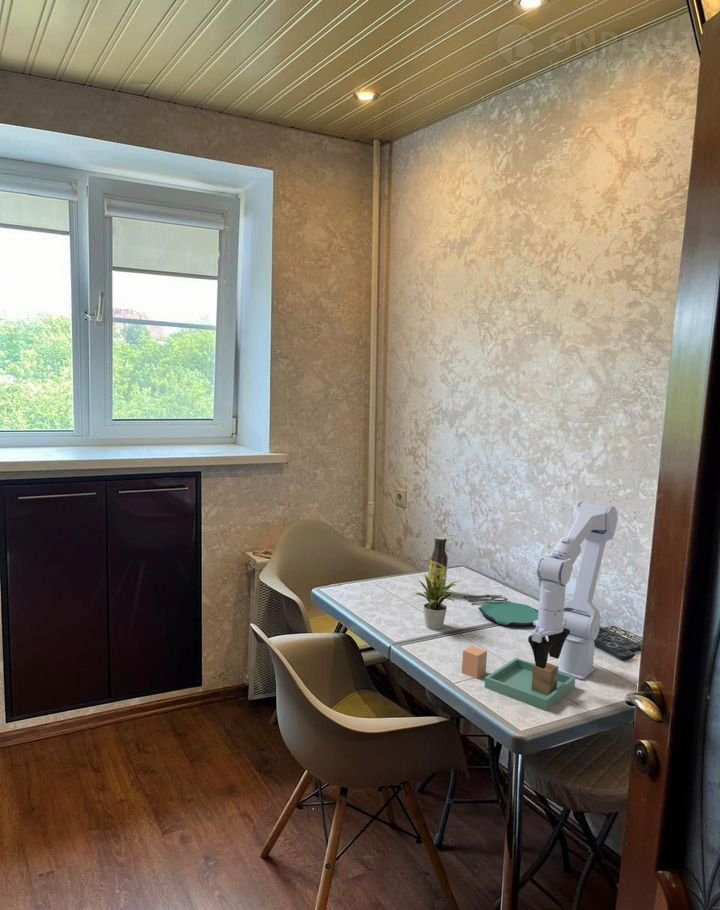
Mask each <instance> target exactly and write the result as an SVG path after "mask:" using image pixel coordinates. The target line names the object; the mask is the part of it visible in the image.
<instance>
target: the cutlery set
mask: <svg viewBox="0 0 720 910" xmlns="http://www.w3.org/2000/svg"><path fill="white" fill-rule="evenodd" d="M463 599H467V601H468V602H471V605H472V606H473V605H477V604H479V605H480V604H482V605H480V606H479V607H478V610H479V611H480V613H481V614H482V615H483V616H484V617H486V618H488V619H490V620H492V621H495V622H496V623H497V624H499V625H503V626H507V625H514V626H532V625H533V622H534V621H535V620H538V613H539V609H536V608H534V607H532V606H530V605H527V604H523V603H518V602H515V601H514V602H513V601H511V600H508V598H507V597H503V595H501V594H496V595H495V594H490V593H489V594H488V593H486V594H481V595H472V594H471V595H470V594H468V595H466V594H465V595H463ZM506 600H507V601H506ZM473 601H481V602H473ZM482 601H483V602H482Z"/></svg>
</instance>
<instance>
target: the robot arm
mask: <svg viewBox="0 0 720 910" xmlns="http://www.w3.org/2000/svg"><path fill="white" fill-rule="evenodd" d="M618 518H619V517H618V510H617V509H616V507H615V506H614V505H610V506H609V505H604V504H598V503H590V502H586V501H582V500H579V501H578V502H577V503H576V504H575V506H574V507H573V511H572V520H573V523H572V526H571V527H570V529H569V532H568V534H567V535H566V536H564V537H561V538H560V539H559V540H558V541H557V543H556V544H555V546H554V547H553V548H552V550H551V552H549V554H548V556H544V557H541V559H539V562H538V564H537V567H536V568H537V569H536V576H537V581H538V582H537V585H538V587H539V600H538V611H539V613H538V620H535V621H534V622H533V624H532V625H533V626H535V629H534V631H533V632H532V634H531V635H529V636H527V637H528V638H527V641H528V643H529V646H530V647H531V650H532V653H533V659H534V664H536V667H539V668H542V669H544V668H545V667H546V664H547V663H548V658H549V657H550V658H554V659H556V660H558V659H559V663H558V664H556V666H558V672H560V673H563V674H566V675H569V676H572V677H575V679H580V680H584V679H586V678H587V677H589V675H590V674H591V673H592V672H594V671H595V670H596V669H597V666H596V665H594V658H595V657H594V655H595V645H596V644H595V641H596V639H597V638H598V636H599V632H600V628H601V624H600V623H601V612H600V611H599V610H598V608H597V607H596V605H594V604H593V598H594V595H595V590H596V585H597V581H598V576H599V573H600V570H601V564H602V560H603V556H604V553H605V551H604V550H605V546H606V544H607V542H608V541H611V540H613V539H614V535H615V533H616V528H617V524H618V520H619V519H618ZM584 540H585V541H584ZM583 542H585V544H584V546H583V547H584V548H583V552H582V556H581V560H580V565H579V568H578V572H577V573H578V574H577V577H576V581H575V584H574V585H575V586H574V591H573V593H572V594H573V595H572V598H569V599H567V600H565V599H566V586H567V584H568V582H569V581H570V579H571V576H572V572H573V569H574V566H573V565H574V564H575V562H576V560H577V559H578V558H579V556H580V554H581V551H582V546H581V545H582V543H583Z"/></svg>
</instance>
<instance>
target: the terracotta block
mask: <svg viewBox="0 0 720 910" xmlns="http://www.w3.org/2000/svg"><path fill="white" fill-rule="evenodd" d="M487 659H488V650H487V649H483V648H480V647H477V646H474V645H470V646H469V647H467V648H465V649H464V650H462V659H461V660H462V663H461V674H464V675H465V676H469V677H472V678H474V679H479V678H480V677H482V676H484V675H485V674H486V673H487Z"/></svg>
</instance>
